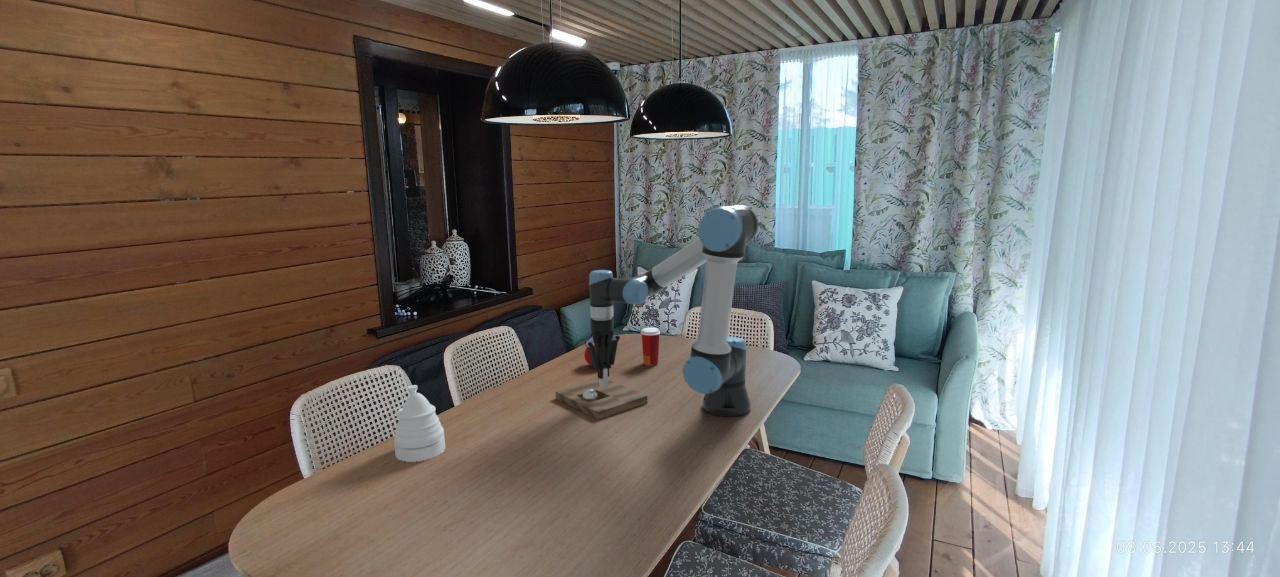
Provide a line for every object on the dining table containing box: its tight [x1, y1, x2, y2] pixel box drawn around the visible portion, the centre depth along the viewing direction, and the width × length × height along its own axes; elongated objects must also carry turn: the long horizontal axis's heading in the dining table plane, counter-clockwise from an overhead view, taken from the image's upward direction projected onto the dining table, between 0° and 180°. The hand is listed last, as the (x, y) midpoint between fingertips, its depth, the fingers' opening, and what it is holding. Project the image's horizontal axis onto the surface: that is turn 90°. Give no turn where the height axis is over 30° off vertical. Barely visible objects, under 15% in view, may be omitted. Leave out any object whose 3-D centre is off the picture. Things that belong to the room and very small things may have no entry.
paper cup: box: [639, 327, 661, 367], centre depth 231 cm, size 8×8×14 cm
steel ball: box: [582, 389, 599, 402], centre depth 192 cm, size 5×5×5 cm
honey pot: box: [393, 384, 446, 463], centre depth 159 cm, size 13×13×18 cm
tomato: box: [583, 342, 596, 367], centre depth 230 cm, size 10×10×10 cm
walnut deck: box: [555, 378, 648, 421], centre depth 195 cm, size 24×20×2 cm
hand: (603, 386), depth 195 cm, fingers closed
